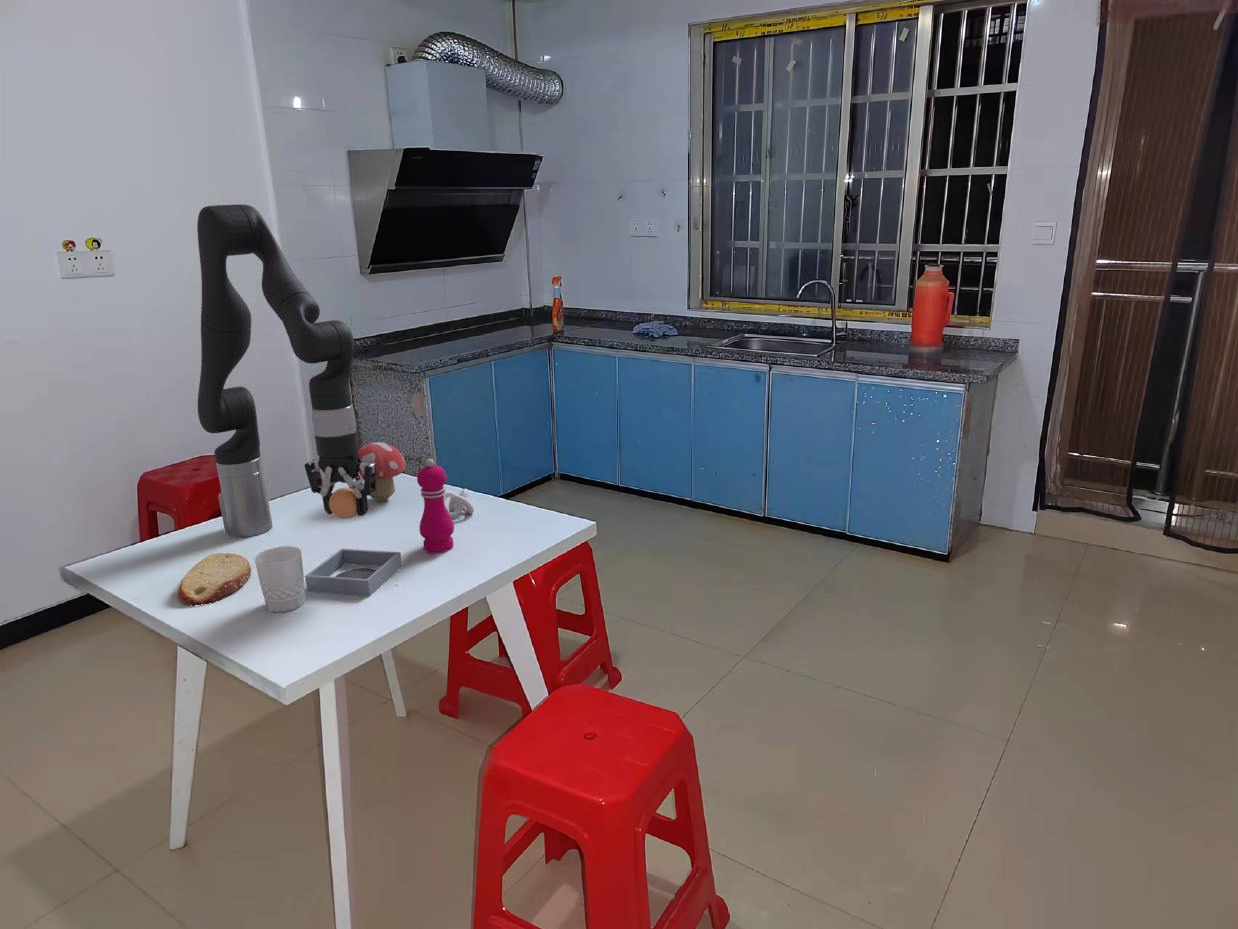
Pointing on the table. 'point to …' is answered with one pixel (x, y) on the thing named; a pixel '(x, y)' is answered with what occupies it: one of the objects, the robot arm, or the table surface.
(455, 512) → the knot
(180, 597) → the slice of bread
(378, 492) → the decorative mushroom
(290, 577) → the white cup
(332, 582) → the corral
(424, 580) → the table surface
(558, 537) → the table surface
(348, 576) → the pad
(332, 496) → the ball
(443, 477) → the pepper mill
